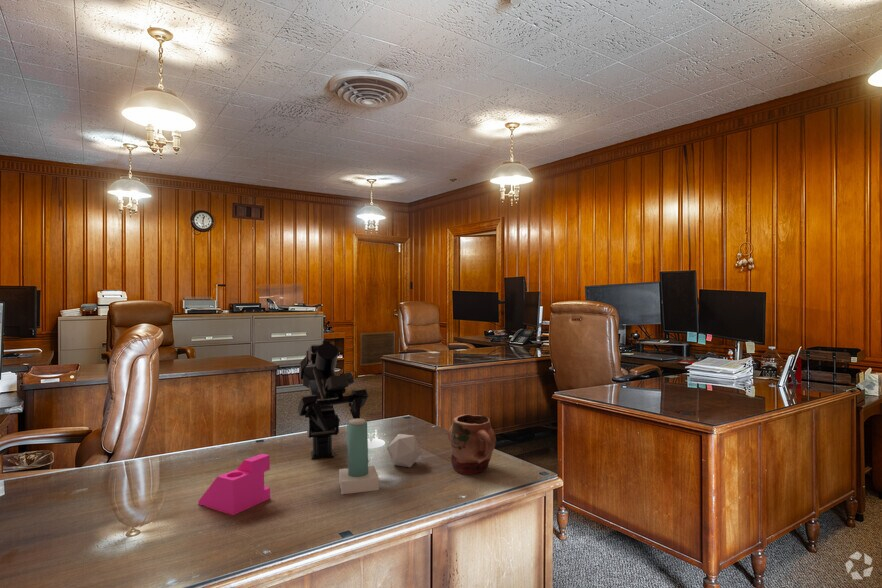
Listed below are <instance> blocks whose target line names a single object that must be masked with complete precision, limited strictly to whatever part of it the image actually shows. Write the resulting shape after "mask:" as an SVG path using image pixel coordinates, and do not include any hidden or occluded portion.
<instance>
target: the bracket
mask: <svg viewBox="0 0 882 588" xmlns="http://www.w3.org/2000/svg"><path fill="white" fill-rule="evenodd" d="M270 458H271V457H270V454H266V453H259V454H258V455H254V456H251V457H249V458H246V459H244V460H243V461H242V462H241V464H239V466H238V467H237V468H236V469H234V470H232V471H228V472H227V473H223V474H220V475H217V476H216V478H215V479H214V480H213V481H212V482H211V484H210V486H209V487H208V488H207V489H206V490H205V492H204V493H203V494H202V496H201V497H200V498H199V500H198V503H197V504H200V505H199V506H201V505H204V506H203V507H205V506H206V507H205V508H208V507H209V508H208V509H211V508H212V510H215V511H218V512H222V513H224V514H228V515H231V516H234V515H237V514H238V513H241V512H243V511H246V510H248V509H250V508H252V507H254V506H256V505H258V504H261V503H262V502H265V501H268V500H270V499H271V487H268V486H265V472H268V471H270V470H271V465H270V464H271V463H270V461H271V460H270Z"/></svg>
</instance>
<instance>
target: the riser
mask: <svg viewBox="0 0 882 588" xmlns="http://www.w3.org/2000/svg"><path fill="white" fill-rule="evenodd" d="M338 474H339V475H338V477H339V478H338V482H339V486H340V488H339V489H340V493H341V495H348V494H354V493H364V492H373V491H380V477H379V475H378V472H377V470H376V468H375V465H368V474H367V475H365V476H361V477H352V476H349V475H348V467H347V468H338Z"/></svg>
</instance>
